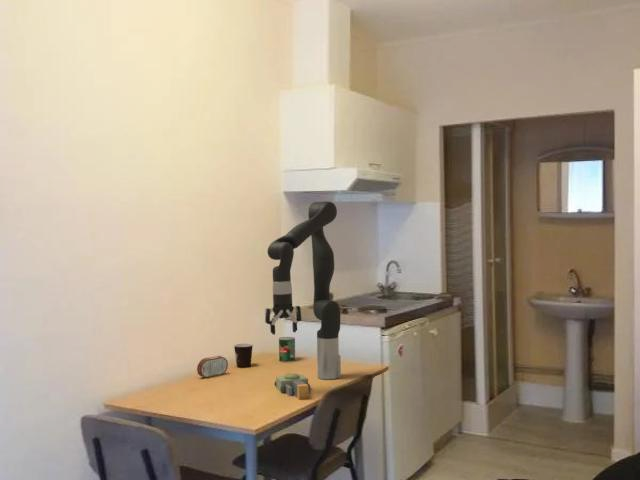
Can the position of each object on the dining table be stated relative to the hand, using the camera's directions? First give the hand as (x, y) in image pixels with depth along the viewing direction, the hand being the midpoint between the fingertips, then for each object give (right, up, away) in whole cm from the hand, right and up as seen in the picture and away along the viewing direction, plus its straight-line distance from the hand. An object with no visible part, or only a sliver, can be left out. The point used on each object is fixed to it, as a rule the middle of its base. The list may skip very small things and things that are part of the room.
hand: (284, 333), depth 266 cm
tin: (-33, -23, +29) cm, 49 cm away
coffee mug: (-21, -22, +49) cm, 58 cm away
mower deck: (+4, -23, 0) cm, 23 cm away
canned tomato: (-2, -22, +60) cm, 64 cm away
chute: (+7, -23, -9) cm, 25 cm away
